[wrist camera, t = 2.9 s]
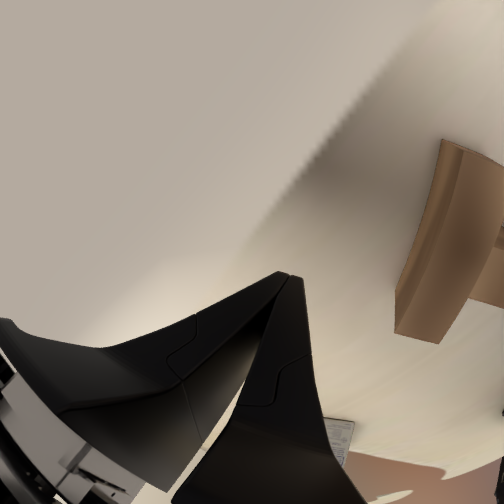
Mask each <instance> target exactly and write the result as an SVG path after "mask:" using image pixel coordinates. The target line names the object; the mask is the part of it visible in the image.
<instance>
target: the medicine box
mask: <svg viewBox="0 0 504 504" xmlns="http://www.w3.org/2000/svg"><path fill="white" fill-rule="evenodd" d="M324 422H325V426H326V430H327V435H328V438H329V442H330V445H331V448H332V450H333V453H334V455H335V457H336V459H337V460H338V462H339V463H340V465H341V466H342V468H344V465H345V461H346V457H347V453H348V450H349V446H350V442H351V438H352V433H353V428H354V422H348V421H342V420H334V419H327V418H324Z"/></svg>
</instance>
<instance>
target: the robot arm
mask: <svg viewBox="0 0 504 504" xmlns="http://www.w3.org/2000/svg"><path fill="white" fill-rule="evenodd" d="M0 348H1V349H2V350H3V352H4V354H5V355H6V356H7V358H8V359H9V361H10V362H11V363H12V365H13V366H14V368H16V370H17V372H16V373H15V372H14V371H13V370H12V368H11V367H10V366H9V365H8V363H7V362H6V360H5V359H4V358H3V356H2V355H1V354H0V504H62V503H61V502H59V501H58V500H56V499H55V498H53V497H54V496H55V495H56V494H58V495H59V496H60V497H61V498H62V499H63V500H64V501H65V502H66V503H67V504H130V503H131V502H132V501H133V499H134V498H135V497H136V495H137V494H138V493H139V491H140V490H141V488H142V487H143V486H144V484H145V483H146V482H147V483H149V484H151V485H153V486H155V487H156V488H158V489H160V490H162V491H164V492H166V493H167V492H168V491H169V490H170V488H171V487H172V485H173V484H174V483H175V482H176V480H177V479H178V478H179V476H180V475H181V474H182V472H183V471H184V470H185V468H186V467H187V465H188V464H189V463H190V461H191V460H192V459H193V457H194V456H195V454H196V453H197V452H198V450H199V449H200V447H201V446H202V443H204V442H205V440H206V439H207V437H208V436H209V434H210V433H211V431H212V430H213V428H214V427H215V425H216V424H217V422H218V421H219V419H220V418H221V416H222V415H223V413H224V412H225V410H226V409H227V407H228V406H229V404H230V403H231V401H232V400H233V398H234V397H235V395H236V393H237V392H238V390H239V389H240V387H241V386H242V384H243V382H244V381H245V383H244V385H243V388H242V390H241V393H240V395H239V398H238V400H237V403H236V406H235V408H234V410H233V412H232V415H231V417H230V419H229V421H228V423H227V424H226V426H225V427H224V429H223V430H222V432H221V433H220V435H219V436H218V437H217V439H216V440H215V441H214V443H213V444H212V446H211V447H210V448H209V450H208V451H207V452H206V454H205V455H204V456H203V458H202V459H201V461H200V462H199V463H198V464H197V466H196V467H195V468H194V470H193V471H192V472H191V474H190V475H189V476H188V477H187V479H186V480H185V481H184V482H183V484H182V485H181V486H180V487H179V489H178V490H177V491H176V493H175V494H174V496H173V498H172V500H171V503H172V504H368V503H367V502H366V501H365V499H364V498H363V497H362V495H361V494H360V492H359V491H358V489H357V488H356V487H355V485H354V484H353V482H352V481H351V479H350V478H349V476H348V475H347V474H346V472H345V471H344V469H343V468H342V466H341V465H340V463H339V462H338V460H337V459H336V457H335V455H334V453H333V450H332V448H331V445H330V442H329V438H328V435H327V430H326V426H325V422H324V418H323V414H322V410H321V405H320V401H319V397H318V393H317V388H316V383H315V377H314V369H313V360H312V355H311V354H312V351H311V341H310V331H309V322H308V313H307V305H306V297H305V289H304V281H303V278H301V277H298V276H294V275H289V274H287V273H284V272H280V271H277V272H275V273H273V274H271V275H269V276H267V277H265V278H263V279H261V280H260V281H258V282H256V283H254V284H252V285H250V286H248V287H246V288H244V289H242V290H240V291H238V292H237V293H235V294H233V295H231V296H229V297H227V298H225V299H223V300H221V301H219V302H217V303H215V304H213V305H211V306H209V307H207V308H205V309H203V310H201V311H199V312H197V313H196V314H193V315H191V316H189V317H187V318H185V319H183V320H181V321H178V322H176V323H174V324H172V325H170V326H167V327H165V328H162V329H159V330H157V331H154V332H152V333H149V334H146V335H144V336H140V337H138V338H135V339H132V340H129V341H126V342H124V343H121V344H117V345H114V346H110V347H103V348H93V347H87V346H81V345H75V344H70V343H65V342H59V341H54V340H50V339H45V338H41V337H37V336H33V335H30V334H28V333H25V332H24V331H22V330H20V329H19V328H18V327H17V326H16V325H15V324H14V322H13V321H12V320H11V319H7V318H0ZM245 379H246V380H245ZM502 416H504V411H503V412H502ZM494 495H495V496H496V499H497V504H504V456H503V457H502V462H501V464H500V471H499V477H498V482H497V487H496V490H495V494H494Z"/></svg>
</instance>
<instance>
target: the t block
mask: <svg viewBox="0 0 504 504" xmlns="http://www.w3.org/2000/svg"><path fill="white" fill-rule="evenodd" d="M503 220H504V167H503V166H501V165H500V164H498V163H496V162H495V161H493V160H491V159H489V158H488V157H486V156H483V155H481V154H479V153H476V152H474V151H472V150H469V149H467V148H464V147H462V146H459V145H457V144H454V143H451V142H449V141H446V140H443V139H442V141H441V146H440V151H439V156H438V161H437V165H436V169H435V174H434V178H433V182H432V186H431V189H430V193H429V197H428V200H427V204H426V207H425V210H424V214H423V217H422V220H421V223H420V226H419V229H418V232H417V235H416V238H415V241H414V244H413V247H412V249H411V252H410V255H409V257H408V260H407V263H406V265H405V268H404V270H403V273H402V275H401V278H400V280H399V283H398V285H397V287H396V290H395V329H394V333H395V334H399V335H403V336H407V337H411V338H415V339H419V340H423V341H427V342H431V343H435V344H439V343H440V342H441V340H442V339H443V337H444V336H445V334H446V333H447V331H448V330H449V328H450V327H451V325H452V323H453V322H454V320H455V319H456V317H457V315H458V314H459V312H460V311H461V309H462V307H463V305H464V304H465V302H466V300H467V298H470V299H473V300H477V301H480V302H483V303H487V304H490V305H493V306H497V307H500V308H503V309H504V227H502V223H503Z"/></svg>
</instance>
